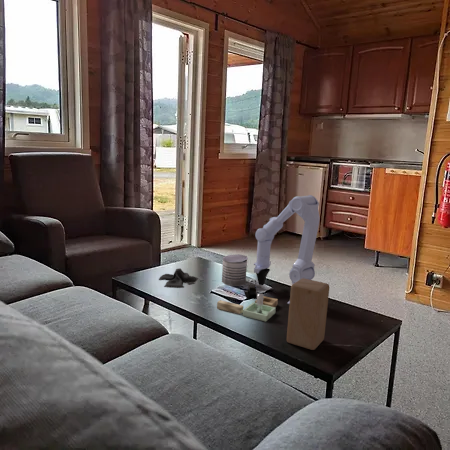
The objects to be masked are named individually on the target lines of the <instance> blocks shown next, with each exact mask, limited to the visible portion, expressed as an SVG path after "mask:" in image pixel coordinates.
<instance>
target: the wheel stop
mask: <svg viewBox="0 0 450 450" xmlns="http://www.w3.org/2000/svg"><path fill="white" fill-rule="evenodd" d="M216 309H218V310H221V311H226V312H229V313H233V314H238V315H241V314H243V310H244V305H241V304H237V303H233V302H229V301H225V300H221V299H219V300H218V301H217V302H216Z"/></svg>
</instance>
